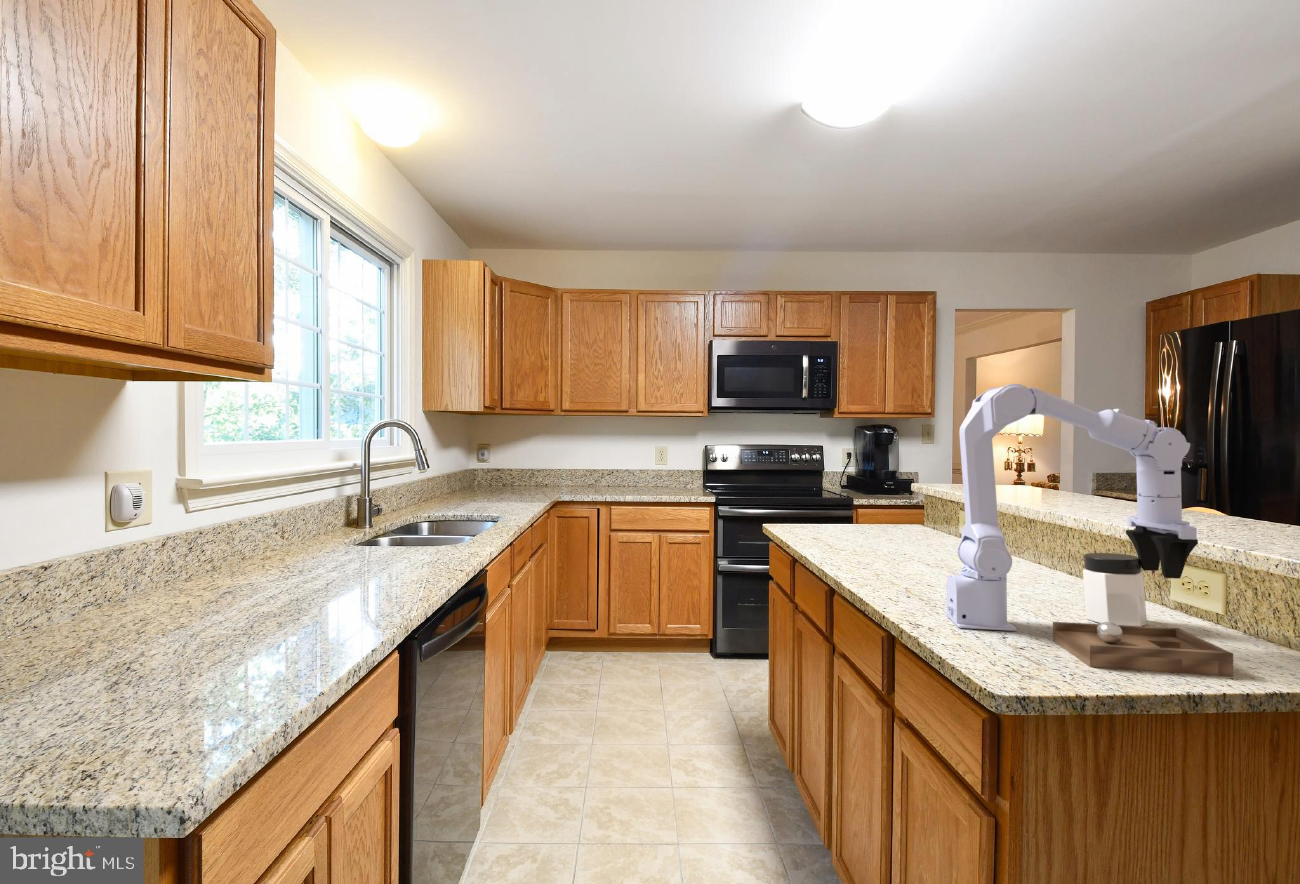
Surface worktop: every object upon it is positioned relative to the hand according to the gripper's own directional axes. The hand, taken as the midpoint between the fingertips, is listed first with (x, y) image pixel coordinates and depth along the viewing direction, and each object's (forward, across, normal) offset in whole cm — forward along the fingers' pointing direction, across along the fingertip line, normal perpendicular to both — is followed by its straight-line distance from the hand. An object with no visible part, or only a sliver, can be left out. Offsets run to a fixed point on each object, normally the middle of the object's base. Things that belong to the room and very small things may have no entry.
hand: (1160, 573), depth 97 cm
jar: (+10, +5, +4) cm, 12 cm away
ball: (+7, -13, +14) cm, 20 cm away
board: (+10, -13, +11) cm, 20 cm away
